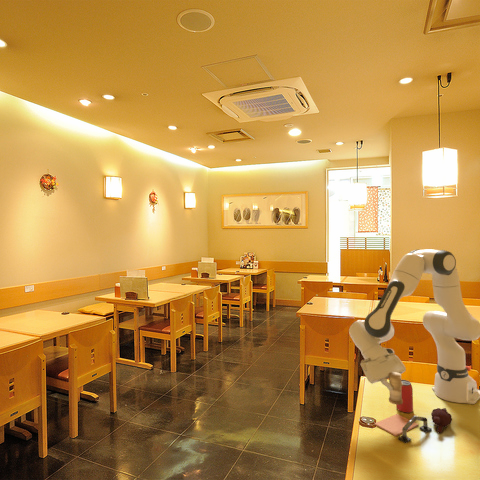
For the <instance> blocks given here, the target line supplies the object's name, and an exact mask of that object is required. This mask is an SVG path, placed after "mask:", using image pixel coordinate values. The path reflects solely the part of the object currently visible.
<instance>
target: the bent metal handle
mask: <svg viewBox="0 0 480 480" xmlns="http://www.w3.org/2000/svg"><path fill="white" fill-rule="evenodd" d="M416 421H418V422H419V421H420V422H422V423H423V424H422V425H421V426H419V430H421V431H422V432H425V434H427V433H429V432H432V428H431V427H429V426H428V418H427V417H424V416H418V415H413V416H411V418H410V419H409V421H408V423H407V424H406V425H405V426H404V427H403V429H402V434H401V435H399V436H397V437H398V440H399V441H400V442H402V443H404V444H408V443H409V442H411V441H412V439H411V438H410V437H408V436H407V435H408V434H407V432H408V431H407V429H408V428H409V427H410V426H411V425H412V424H413V423H414V422H415V423H416Z"/></svg>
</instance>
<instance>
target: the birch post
mask: <svg viewBox="0 0 480 480" xmlns="http://www.w3.org/2000/svg"><path fill="white" fill-rule="evenodd" d="M388 379H389V381H388V383H390V384H392V385H393V387H394V389H393V390H391V391H389V396H388V403H391V404H393V405H400V404H402V403H403V400H402V390H401V380H402V374H400V373H397V372H390V373H389V378H388Z"/></svg>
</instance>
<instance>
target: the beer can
mask: <svg viewBox="0 0 480 480" xmlns="http://www.w3.org/2000/svg"><path fill="white" fill-rule="evenodd" d="M401 382H402V383H403V386H402V387H401V390H402V400H403V403H402V404H400V405H396V404H395V405H396V409H397V410H398V411H399V412H401V413H405V414H409V413H412V412H413V411H414V397H413V395H414V394H413V393H414V391H413V386H412V382H411V381H409V380H406V379H401Z"/></svg>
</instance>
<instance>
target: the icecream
mask: <svg viewBox="0 0 480 480" xmlns="http://www.w3.org/2000/svg"><path fill="white" fill-rule="evenodd" d="M431 420H432V422H433V424H434V425H436V426H437V429H436V430H437V433H438V434H442V433H443V431H444V429H443V428H447V427H448V426H450V425H452V424H451V423H452V421H453V418H452V415H451V414H450V413H449V412H448V411H447V408H446V407H443V408H438V407H437V408H434V409H432V411H431Z"/></svg>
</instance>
